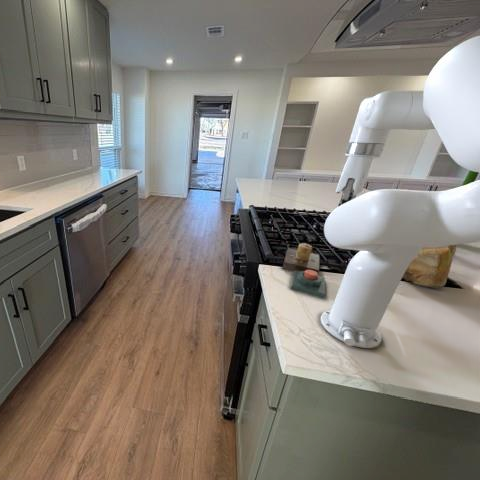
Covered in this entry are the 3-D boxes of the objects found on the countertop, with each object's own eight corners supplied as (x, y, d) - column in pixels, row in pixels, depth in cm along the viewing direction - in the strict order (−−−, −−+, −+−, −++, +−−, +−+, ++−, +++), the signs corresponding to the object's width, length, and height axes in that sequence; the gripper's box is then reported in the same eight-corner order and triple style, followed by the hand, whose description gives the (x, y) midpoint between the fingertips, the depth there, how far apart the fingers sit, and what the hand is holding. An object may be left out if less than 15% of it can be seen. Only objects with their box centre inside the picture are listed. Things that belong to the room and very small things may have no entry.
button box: (323, 298, 76) (326, 288, 74) (290, 289, 80) (293, 279, 79) (323, 281, 85) (326, 272, 83) (293, 274, 89) (296, 265, 87)
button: (316, 281, 79) (317, 276, 78) (303, 278, 80) (304, 273, 80) (316, 276, 82) (318, 271, 81) (304, 273, 83) (305, 268, 83)
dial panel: (316, 277, 87) (319, 270, 85) (281, 269, 92) (283, 261, 90) (317, 261, 98) (319, 254, 97) (286, 254, 103) (288, 247, 102)
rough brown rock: (388, 257, 104) (399, 223, 99) (447, 271, 92) (463, 232, 87) (374, 278, 91) (385, 239, 85) (441, 296, 79) (459, 253, 73)
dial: (293, 257, 94) (297, 244, 91) (298, 254, 96) (301, 241, 94) (306, 262, 91) (310, 248, 89) (310, 258, 93) (314, 245, 91)
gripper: (352, 149, 73) (333, 210, 80) (340, 150, 63) (320, 219, 71) (385, 150, 68) (362, 215, 76) (378, 152, 59) (352, 226, 66)
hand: (341, 217), depth 73 cm, fingers closed
